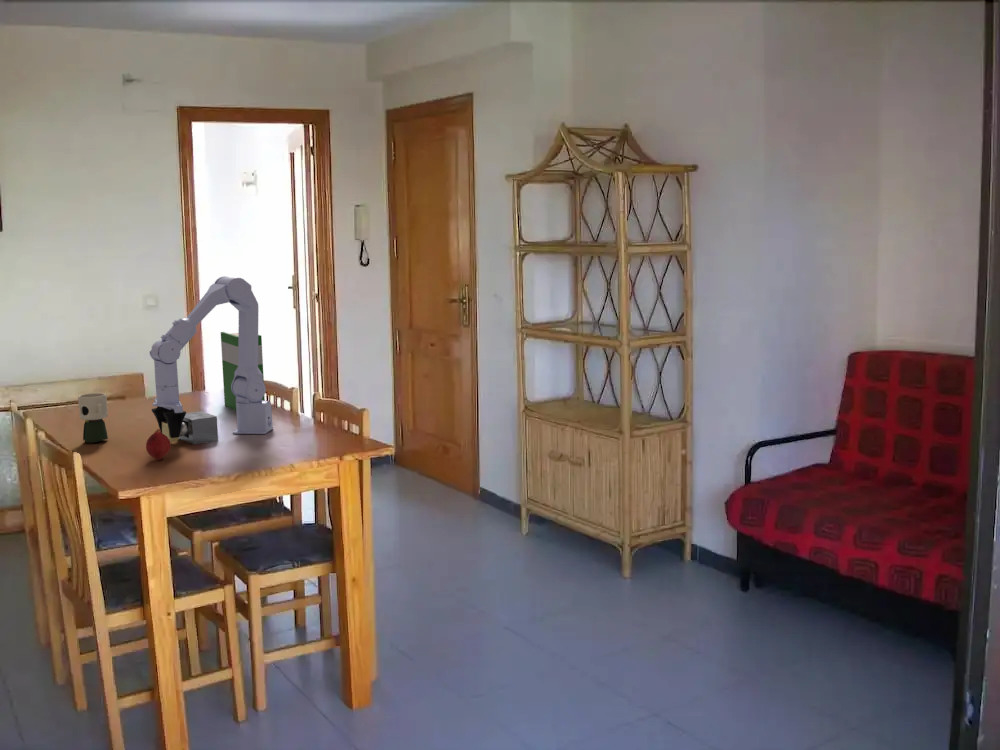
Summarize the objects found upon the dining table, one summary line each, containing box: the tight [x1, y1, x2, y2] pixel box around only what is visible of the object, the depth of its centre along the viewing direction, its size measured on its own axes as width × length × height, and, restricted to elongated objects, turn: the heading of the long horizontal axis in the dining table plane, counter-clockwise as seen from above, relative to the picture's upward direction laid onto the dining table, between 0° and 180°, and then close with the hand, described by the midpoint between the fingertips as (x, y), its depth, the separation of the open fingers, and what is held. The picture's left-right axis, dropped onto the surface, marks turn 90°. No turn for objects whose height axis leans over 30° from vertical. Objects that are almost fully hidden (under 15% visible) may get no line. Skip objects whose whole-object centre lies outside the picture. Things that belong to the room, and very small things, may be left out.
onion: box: [145, 428, 172, 461], centre depth 245 cm, size 6×6×8 cm
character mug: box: [77, 392, 109, 444], centre depth 266 cm, size 11×7×13 cm, turn 43°
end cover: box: [162, 421, 189, 443], centre depth 264 cm, size 8×5×5 cm, turn 131°
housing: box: [178, 410, 219, 445], centre depth 267 cm, size 7×10×7 cm
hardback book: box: [220, 331, 266, 412], centre depth 311 cm, size 18×7×24 cm, turn 33°
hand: (170, 435), depth 263 cm, fingers open, 6 cm apart
